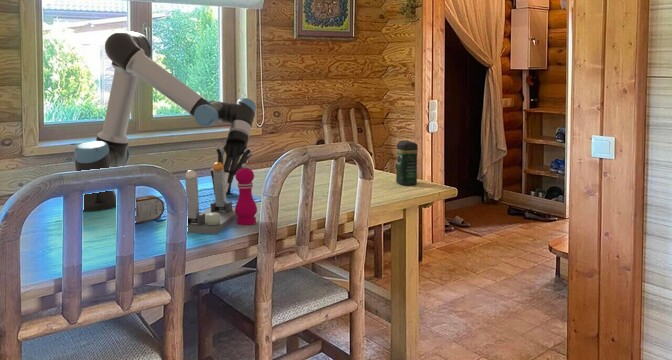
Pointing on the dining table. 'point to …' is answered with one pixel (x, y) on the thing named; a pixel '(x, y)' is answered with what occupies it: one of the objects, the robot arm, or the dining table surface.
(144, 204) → the tin
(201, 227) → the switch panel
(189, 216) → the toggle lever ivory
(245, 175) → the pepper mill
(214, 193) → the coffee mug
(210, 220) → the push button
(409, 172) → the coffee jar
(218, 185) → the toggle lever orange
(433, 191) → the dining table surface
